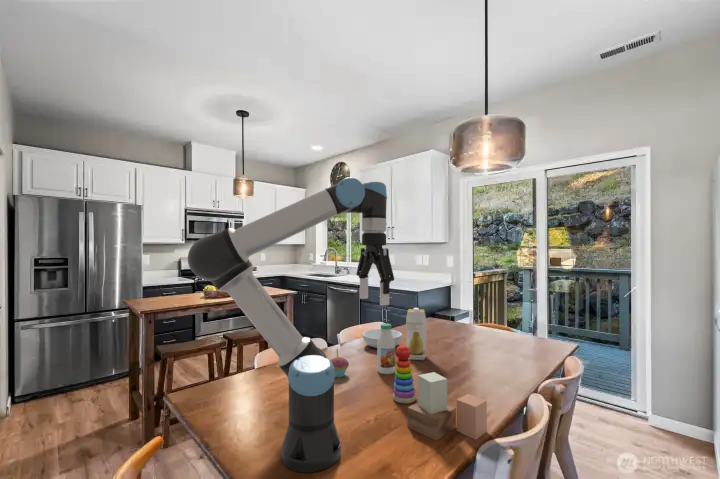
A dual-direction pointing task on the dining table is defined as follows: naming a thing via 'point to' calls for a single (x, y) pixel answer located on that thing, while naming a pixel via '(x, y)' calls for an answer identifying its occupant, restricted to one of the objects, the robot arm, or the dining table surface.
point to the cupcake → (339, 365)
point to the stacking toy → (403, 377)
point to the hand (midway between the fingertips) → (373, 301)
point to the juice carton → (416, 333)
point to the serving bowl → (373, 336)
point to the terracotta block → (472, 416)
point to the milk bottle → (386, 351)
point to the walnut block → (432, 421)
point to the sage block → (432, 392)
